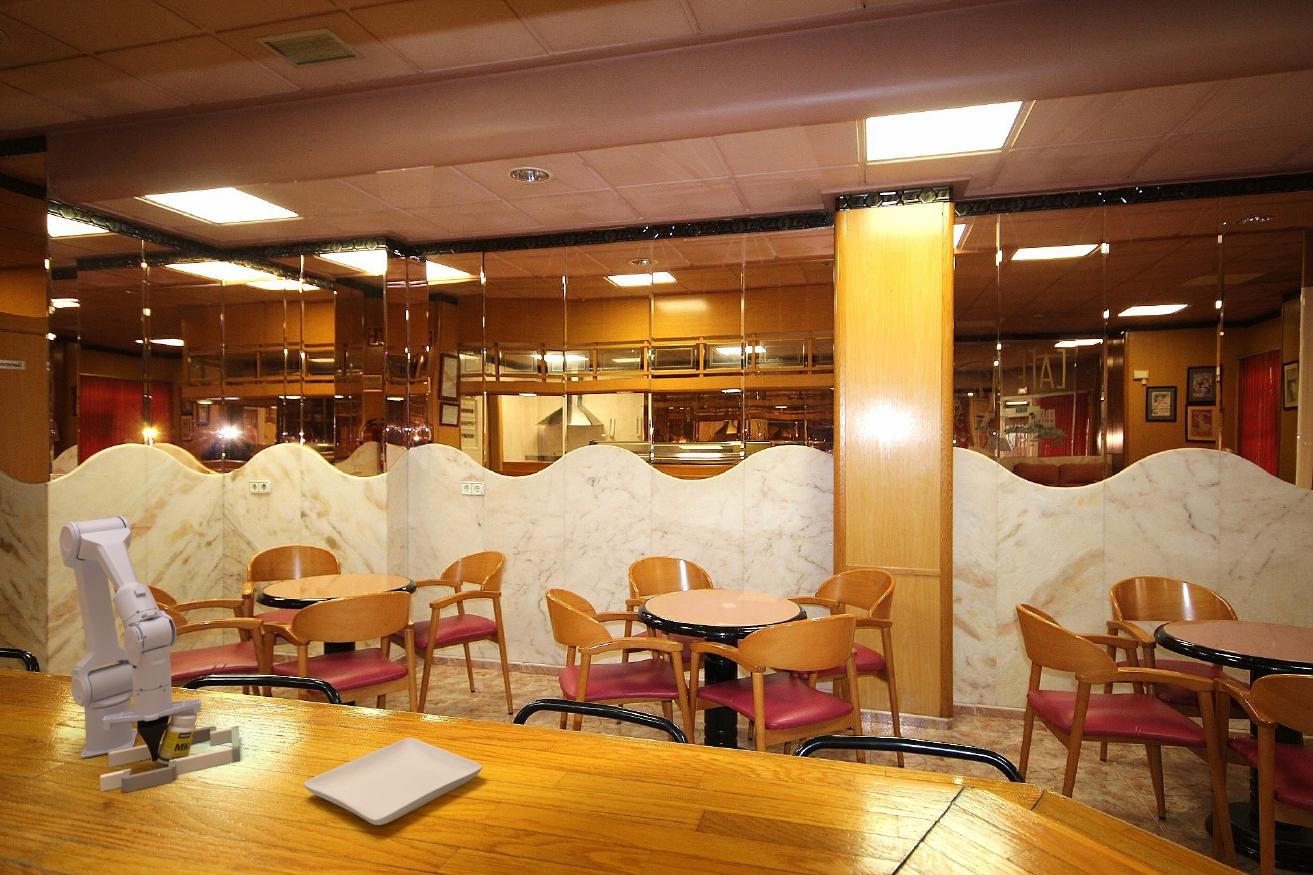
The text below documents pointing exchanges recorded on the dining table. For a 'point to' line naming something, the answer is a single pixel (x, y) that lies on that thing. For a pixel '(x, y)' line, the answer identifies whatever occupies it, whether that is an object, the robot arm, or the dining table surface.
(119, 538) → the robot arm
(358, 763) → the salad plate
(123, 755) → the beige piece
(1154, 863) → the dining table surface
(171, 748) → the supplement bottle
